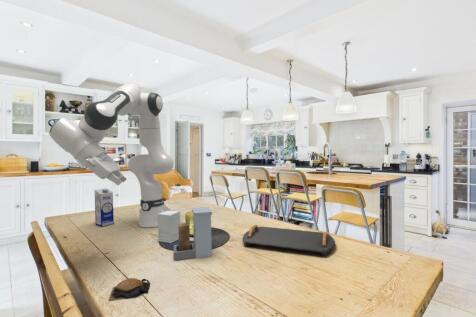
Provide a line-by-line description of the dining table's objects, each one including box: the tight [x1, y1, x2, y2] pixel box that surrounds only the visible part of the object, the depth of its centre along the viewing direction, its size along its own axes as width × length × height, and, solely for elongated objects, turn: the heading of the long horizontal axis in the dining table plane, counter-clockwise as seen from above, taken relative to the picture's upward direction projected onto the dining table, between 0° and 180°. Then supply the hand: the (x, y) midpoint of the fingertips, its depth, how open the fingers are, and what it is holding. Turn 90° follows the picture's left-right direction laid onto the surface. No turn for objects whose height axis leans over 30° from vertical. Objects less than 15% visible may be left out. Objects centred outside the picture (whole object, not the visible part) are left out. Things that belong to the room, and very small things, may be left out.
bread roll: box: [108, 277, 151, 302], centre depth 74 cm, size 11×8×4 cm
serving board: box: [242, 224, 336, 257], centre depth 111 cm, size 39×23×6 cm, turn 68°
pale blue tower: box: [173, 206, 213, 262], centre depth 100 cm, size 14×9×17 cm, turn 105°
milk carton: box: [94, 187, 115, 228], centre depth 143 cm, size 7×7×20 cm
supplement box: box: [157, 210, 181, 244], centre depth 117 cm, size 7×7×13 cm
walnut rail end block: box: [178, 222, 191, 251], centre depth 99 cm, size 4×4×12 cm
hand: (122, 182), depth 94 cm, fingers open, 8 cm apart
